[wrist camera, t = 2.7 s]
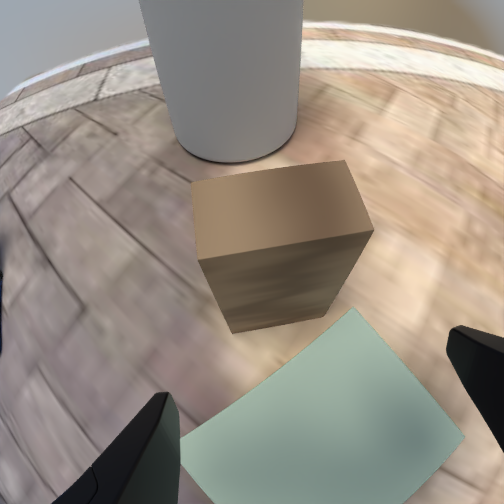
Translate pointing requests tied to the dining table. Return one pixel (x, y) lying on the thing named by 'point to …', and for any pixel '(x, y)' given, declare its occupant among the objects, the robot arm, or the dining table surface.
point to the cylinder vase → (228, 72)
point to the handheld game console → (0, 296)
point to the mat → (325, 429)
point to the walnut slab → (279, 241)
